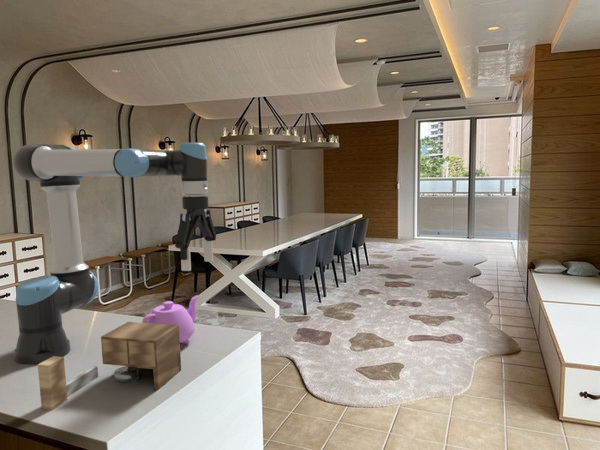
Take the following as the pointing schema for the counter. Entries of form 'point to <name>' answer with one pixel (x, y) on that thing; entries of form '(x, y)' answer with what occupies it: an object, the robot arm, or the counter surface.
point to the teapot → (175, 318)
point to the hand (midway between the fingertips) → (198, 265)
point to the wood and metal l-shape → (59, 382)
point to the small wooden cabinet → (144, 349)
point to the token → (126, 374)
